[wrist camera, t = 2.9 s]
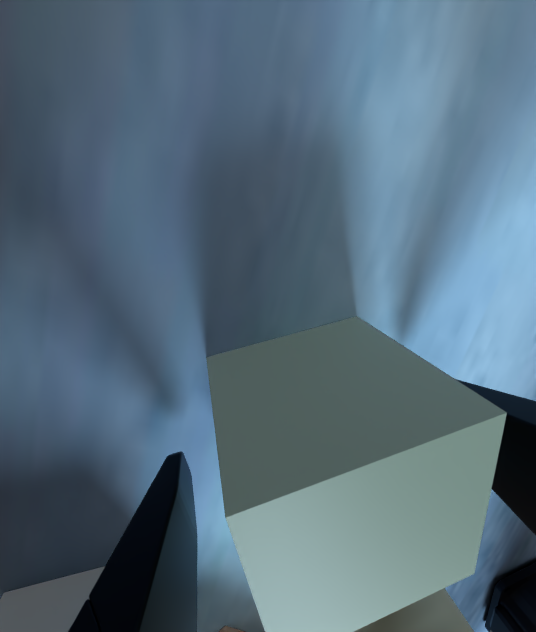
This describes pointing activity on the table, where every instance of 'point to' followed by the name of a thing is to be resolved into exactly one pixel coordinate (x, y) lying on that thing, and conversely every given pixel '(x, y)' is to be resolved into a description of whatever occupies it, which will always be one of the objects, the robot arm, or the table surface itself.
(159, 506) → the robot arm
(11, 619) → the white cube
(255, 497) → the sage cube
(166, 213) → the table surface
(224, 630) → the terracotta cube
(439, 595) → the beech cube
